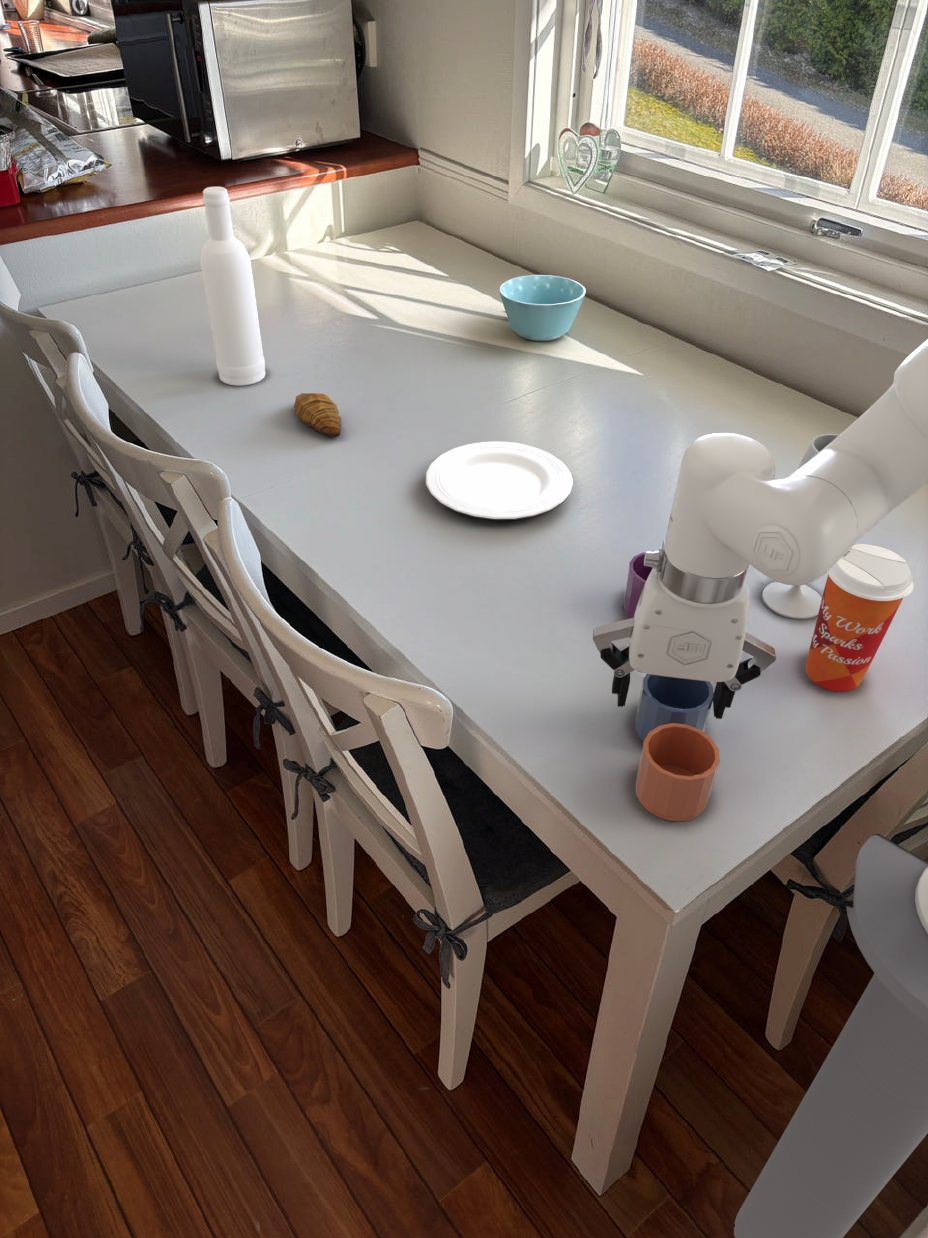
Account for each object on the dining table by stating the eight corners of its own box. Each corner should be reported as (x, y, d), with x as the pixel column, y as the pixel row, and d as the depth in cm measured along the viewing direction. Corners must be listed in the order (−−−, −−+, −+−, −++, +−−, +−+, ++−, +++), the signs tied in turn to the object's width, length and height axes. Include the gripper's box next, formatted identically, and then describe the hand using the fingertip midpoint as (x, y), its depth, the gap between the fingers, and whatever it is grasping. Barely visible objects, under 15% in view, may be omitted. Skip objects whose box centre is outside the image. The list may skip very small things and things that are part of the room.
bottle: (272, 368, 160) (249, 183, 141) (257, 388, 154) (230, 198, 135) (228, 364, 161) (199, 180, 142) (211, 383, 155) (178, 194, 136)
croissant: (280, 410, 148) (276, 381, 145) (318, 400, 151) (315, 372, 148) (316, 446, 140) (313, 416, 136) (356, 435, 142) (354, 405, 139)
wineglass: (822, 626, 108) (876, 470, 95) (756, 611, 110) (799, 456, 97) (827, 589, 114) (878, 437, 100) (764, 575, 116) (806, 424, 102)
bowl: (480, 330, 174) (481, 286, 169) (538, 309, 182) (540, 267, 177) (540, 356, 165) (544, 311, 160) (598, 333, 174) (603, 289, 168)
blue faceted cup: (716, 734, 95) (728, 692, 91) (670, 764, 92) (680, 722, 88) (667, 696, 99) (676, 654, 95) (621, 723, 96) (628, 682, 92)
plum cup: (693, 612, 110) (702, 572, 106) (652, 634, 107) (660, 594, 103) (651, 583, 114) (658, 544, 110) (611, 604, 111) (617, 564, 107)
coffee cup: (781, 674, 102) (816, 564, 92) (815, 638, 107) (852, 531, 97) (853, 711, 98) (897, 601, 88) (885, 673, 102) (931, 564, 93)
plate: (552, 447, 140) (552, 435, 139) (589, 522, 125) (590, 510, 123) (416, 457, 137) (416, 445, 136) (437, 535, 122) (436, 523, 120)
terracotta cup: (722, 798, 88) (735, 756, 84) (672, 833, 85) (683, 791, 81) (669, 755, 93) (679, 713, 89) (620, 786, 89) (628, 744, 85)
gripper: (604, 584, 80) (581, 719, 91) (807, 606, 79) (759, 741, 90) (606, 534, 86) (584, 667, 97) (795, 555, 84) (751, 687, 96)
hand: (668, 703), depth 93 cm, fingers open, 9 cm apart
